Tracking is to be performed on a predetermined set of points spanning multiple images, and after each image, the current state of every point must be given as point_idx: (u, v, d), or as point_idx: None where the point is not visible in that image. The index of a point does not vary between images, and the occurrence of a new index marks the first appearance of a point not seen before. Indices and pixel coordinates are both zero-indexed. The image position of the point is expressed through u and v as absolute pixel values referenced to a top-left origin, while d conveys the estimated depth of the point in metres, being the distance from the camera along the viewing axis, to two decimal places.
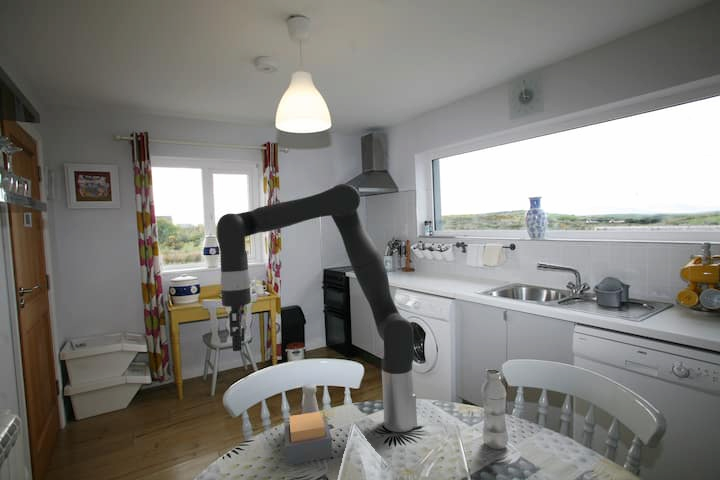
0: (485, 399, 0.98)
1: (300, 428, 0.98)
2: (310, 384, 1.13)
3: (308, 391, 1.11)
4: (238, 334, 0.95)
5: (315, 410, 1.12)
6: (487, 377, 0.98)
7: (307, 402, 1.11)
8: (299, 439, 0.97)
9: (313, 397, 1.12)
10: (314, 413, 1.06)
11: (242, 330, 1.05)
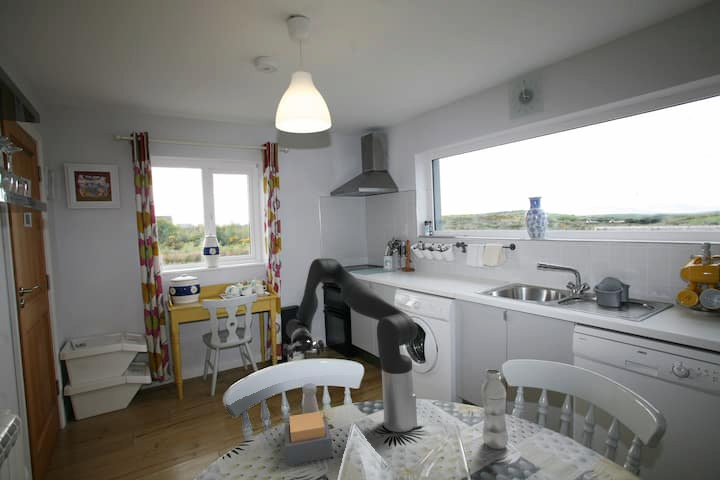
0: (485, 399, 0.98)
1: (300, 428, 0.98)
2: (310, 384, 1.13)
3: (308, 391, 1.11)
4: (283, 349, 1.27)
5: (315, 410, 1.12)
6: (487, 377, 0.98)
7: (307, 402, 1.11)
8: (299, 439, 0.97)
9: (313, 397, 1.12)
10: (314, 413, 1.06)
11: (315, 347, 1.28)
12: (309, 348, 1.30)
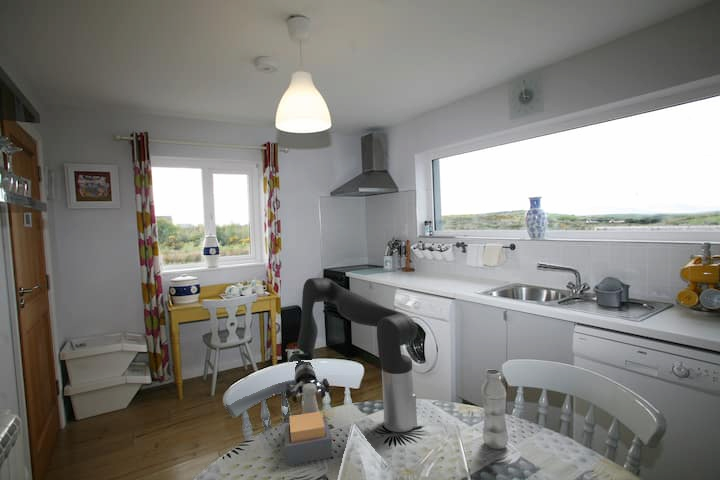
0: (485, 399, 0.98)
1: (300, 428, 0.98)
2: (310, 384, 1.13)
3: (308, 391, 1.11)
4: None
5: (315, 410, 1.12)
6: (487, 377, 0.98)
7: (307, 402, 1.11)
8: (299, 439, 0.97)
9: (313, 397, 1.12)
10: (314, 413, 1.06)
11: (320, 389, 1.21)
12: None
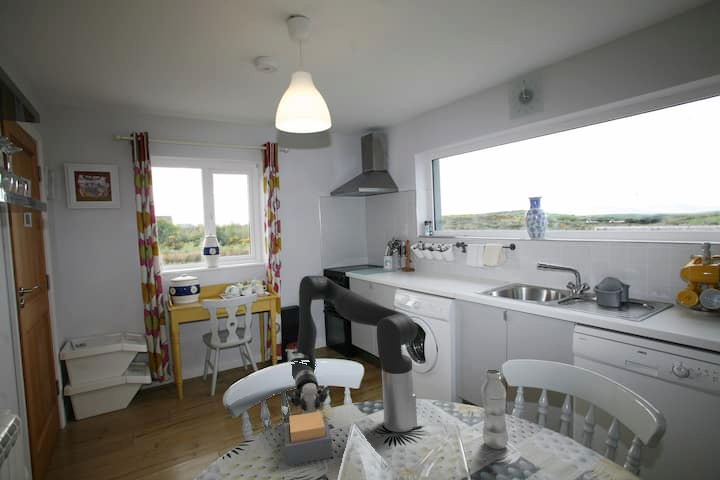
0: (485, 399, 0.98)
1: (300, 428, 0.98)
2: (310, 384, 1.13)
3: (308, 391, 1.11)
4: (295, 399, 1.14)
5: (315, 410, 1.12)
6: (487, 377, 0.98)
7: (307, 402, 1.11)
8: (299, 439, 0.97)
9: (313, 397, 1.12)
10: (314, 413, 1.06)
11: None
12: None
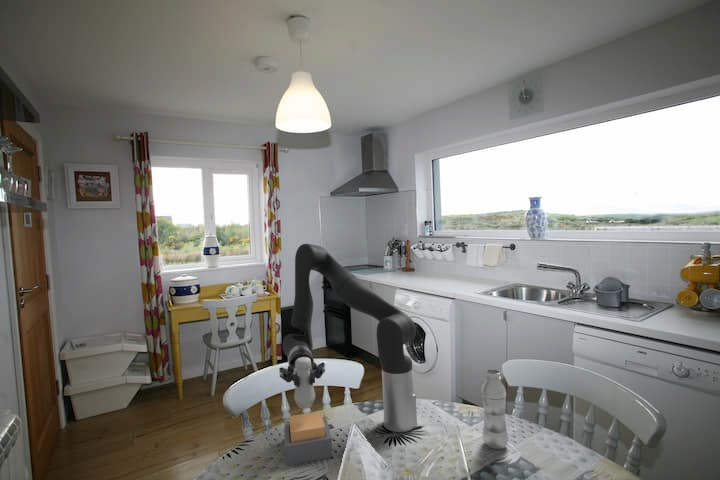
0: (485, 399, 0.98)
1: (300, 428, 0.98)
2: (304, 358, 1.02)
3: (301, 365, 1.00)
4: (287, 375, 1.02)
5: (309, 386, 1.00)
6: (487, 377, 0.98)
7: (300, 377, 1.00)
8: (299, 439, 0.97)
9: (307, 372, 1.01)
10: (314, 413, 1.06)
11: None
12: None
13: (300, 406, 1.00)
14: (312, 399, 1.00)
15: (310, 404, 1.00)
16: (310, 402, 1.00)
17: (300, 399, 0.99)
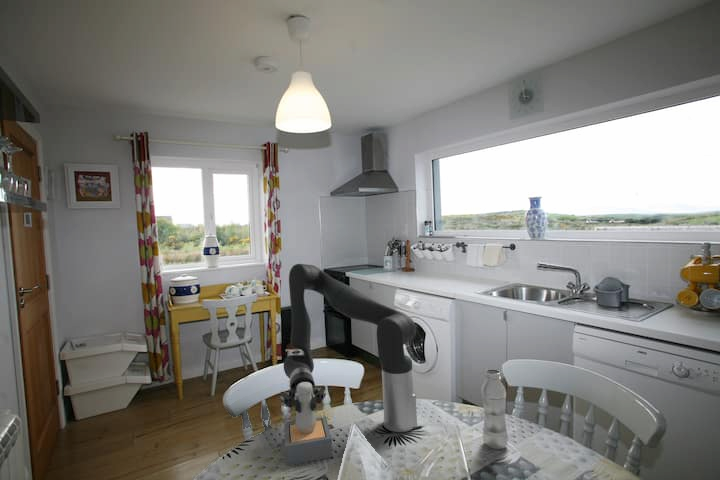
0: (485, 399, 0.98)
1: (300, 438, 0.98)
2: (305, 383, 1.02)
3: (303, 390, 1.00)
4: (288, 400, 1.03)
5: (311, 412, 1.01)
6: (487, 377, 0.98)
7: (301, 403, 1.00)
8: None
9: (308, 397, 1.01)
10: None
11: None
12: None
13: (301, 432, 1.00)
14: (313, 424, 1.00)
15: (311, 429, 1.01)
16: (311, 427, 1.00)
17: (301, 424, 0.99)
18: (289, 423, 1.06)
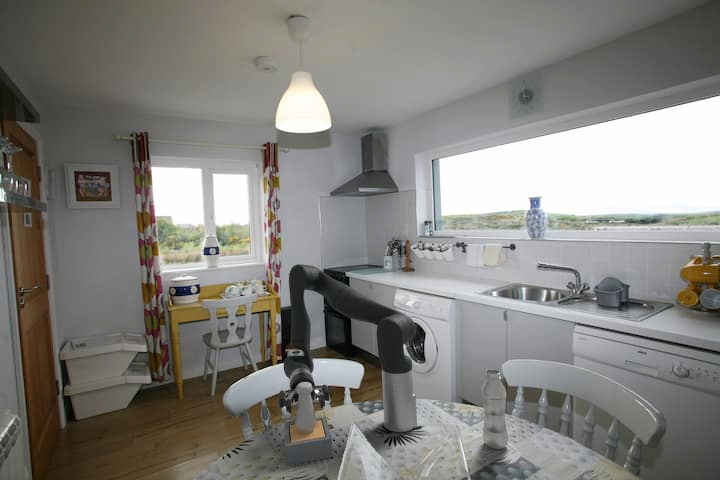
0: (485, 399, 0.98)
1: (300, 438, 0.98)
2: (305, 383, 1.02)
3: (303, 390, 1.00)
4: (279, 400, 1.03)
5: (311, 412, 1.01)
6: (487, 377, 0.98)
7: (301, 403, 1.00)
8: None
9: (308, 397, 1.01)
10: None
11: (318, 397, 1.04)
12: (311, 397, 1.07)
13: (301, 432, 1.00)
14: (313, 424, 1.01)
15: (311, 429, 1.01)
16: (311, 427, 1.00)
17: (301, 424, 0.99)
18: (289, 423, 1.06)
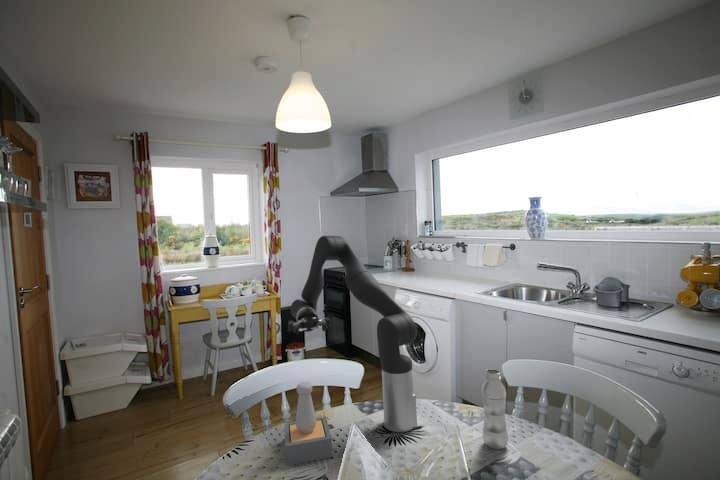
0: (485, 399, 0.98)
1: (300, 438, 0.98)
2: (305, 383, 1.02)
3: (303, 390, 1.00)
4: (288, 325, 1.23)
5: (311, 412, 1.01)
6: (487, 377, 0.98)
7: (301, 403, 1.00)
8: None
9: (308, 397, 1.01)
10: None
11: None
12: (315, 325, 1.27)
13: (301, 432, 1.00)
14: (313, 424, 1.01)
15: (311, 429, 1.01)
16: (311, 427, 1.00)
17: (301, 424, 0.99)
18: (289, 423, 1.06)
